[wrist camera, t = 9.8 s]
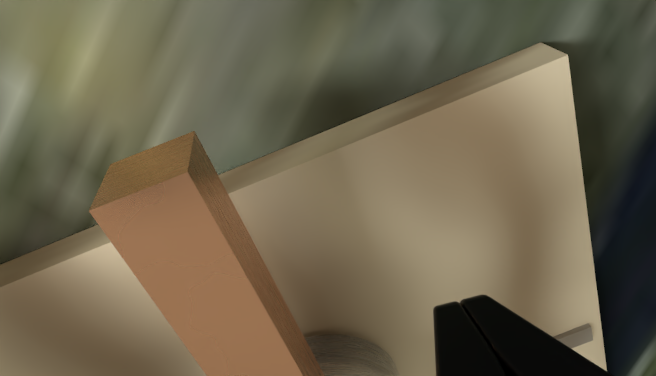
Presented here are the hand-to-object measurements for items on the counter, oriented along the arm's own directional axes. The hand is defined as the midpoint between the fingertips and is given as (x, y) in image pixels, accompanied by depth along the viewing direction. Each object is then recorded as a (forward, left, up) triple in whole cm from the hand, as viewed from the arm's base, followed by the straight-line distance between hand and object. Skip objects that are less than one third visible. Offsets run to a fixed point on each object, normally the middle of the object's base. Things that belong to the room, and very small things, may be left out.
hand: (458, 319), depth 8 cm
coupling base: (-5, -9, -9) cm, 14 cm away
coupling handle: (-5, -5, -7) cm, 10 cm away
